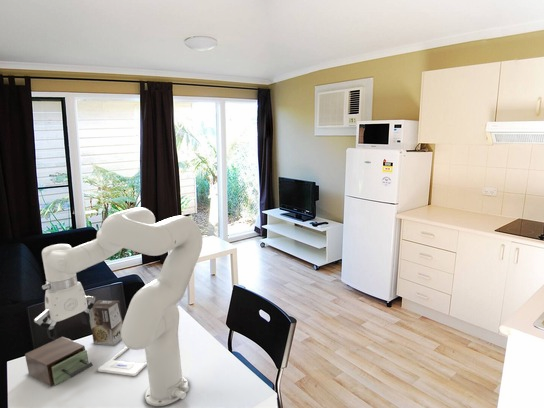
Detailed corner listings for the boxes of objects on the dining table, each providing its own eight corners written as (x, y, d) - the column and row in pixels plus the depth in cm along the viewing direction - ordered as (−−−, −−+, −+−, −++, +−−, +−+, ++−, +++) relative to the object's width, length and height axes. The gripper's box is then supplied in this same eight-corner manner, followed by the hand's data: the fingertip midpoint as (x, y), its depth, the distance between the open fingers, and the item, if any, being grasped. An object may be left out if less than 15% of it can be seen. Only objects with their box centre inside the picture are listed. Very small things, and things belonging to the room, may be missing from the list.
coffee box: (125, 336, 144) (120, 300, 141) (114, 345, 138) (108, 308, 135) (104, 335, 145) (99, 299, 142) (92, 344, 139) (86, 307, 135)
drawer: (100, 371, 122) (97, 355, 121) (67, 390, 113) (64, 373, 111) (69, 356, 130) (66, 341, 128) (35, 374, 120) (32, 357, 119)
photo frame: (97, 368, 123) (134, 339, 140) (97, 371, 123) (134, 341, 140) (134, 373, 120) (167, 342, 138) (134, 376, 121) (167, 345, 138)
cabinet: (87, 365, 126) (84, 345, 124) (50, 386, 116) (46, 365, 114) (66, 355, 132) (62, 336, 130) (28, 374, 121) (24, 354, 120)
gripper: (36, 296, 102) (46, 348, 106) (97, 275, 118) (104, 320, 121) (23, 291, 106) (32, 341, 109) (84, 271, 121) (91, 315, 124)
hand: (70, 330), depth 115 cm, fingers open, 9 cm apart
